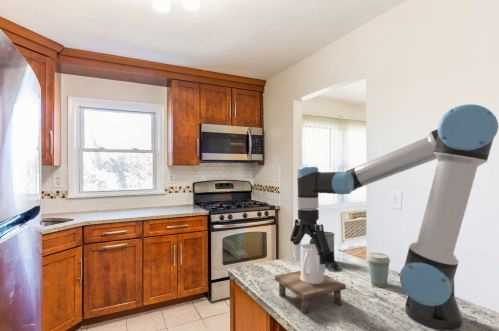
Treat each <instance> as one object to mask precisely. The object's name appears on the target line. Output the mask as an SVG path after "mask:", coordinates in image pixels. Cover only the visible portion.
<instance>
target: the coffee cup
mask: <svg viewBox="0 0 499 331" xmlns="http://www.w3.org/2000/svg"><path fill="white" fill-rule="evenodd" d="M366 259H367V261H368V270H369V276H370V283H371V285H372V286H374V287H377V288H386V287H387V286H388V279H389V278H388V277H389V268H390V263H391V259H390V256H389V255H387V254H385V253H383V252H382V253H380V252H370V253H368V256H367V258H366Z"/></svg>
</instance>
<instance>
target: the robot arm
mask: <svg viewBox="0 0 499 331" xmlns="http://www.w3.org/2000/svg"><path fill="white" fill-rule="evenodd" d="M498 122H499V121H498V119H497V117H496V115H495V114H494V113H493V112H492V111H491V110H490V109H489V108H486V107H485V106H482V105H479V104H474V103H473V104H472V103H470V104H469V103H468V104H467V103H466V104H461V105H458V106H455V107H453V108H451V109H449V110H448V111H447V112H446V113H444V114H443V115H442V117H441V119H440V120H439V122H438V124H437V128H436V129H433V131H430V133H429V134H428V136H426V137H424V138H422V139H419V140H416V141H415V142H412V143H409V144H407V145H405V146H403V147H400V148H398V149H396V150H393V151H391V152H388V153H387V154H384V155H381V156H379V157H376V158H374V159H372V160H370V161H367V162H365V163H363V164H359V165H358V166H356V167H353V168H351V169H348V170H346V171H329V172H328V171H326V172H325V171H324V172H323V171H319V168H318V167H317V166H300V167H298V168H297V177H296V178H297V179H296V180H297V208H298V209H297V219H296V218H295V219H294V224H293V225H294V226H293V229H292V233H291V235H290V242H291V243H292V244H293V252H294V255H293V256H294V260H293V261H294V263H297V262H298V263H299V262H301V245H302V242H301V241H302V240H303V238H304V237H305V235H307V236H309V238H310V239H311V238H312V240H313V242H314V244H315V246H316V248H317V251H318V254H317V273H318V274H321V273H323V274H325V273H326V264H325V263H326V254H329V253H330V249H329V246H328V243H327V240H326V236H325V233H324V232H325V231H324V228H325V227H324V225H323V224H322V223H321V224H318V220H319V218H320V217H319V216H320V215H319V212H320V211H319V194H333V195H349V194H351V193H352V192H353V191H356V190H357V189H360V188H362V187H364V186H368V185H370V184H372V183H375V182H378V181H381V180H383V179H387V178H389V177H392V176H394V175H397V174H399V173H402V172H405V171H407V170H411V169H413V168H416V167H418V166H421V165H423V164H427V163H428V162H432V161H434V160H437V163H436V168H435V171H434V172H435V173H434V176H433V179H432V182H431V187H430V190H429V194H428V197H427V198H428V199H427V201H426V206H425V210H424V213H423V216H422V217H423V218H422V221H421V225H420V230H419V233H418V237H417V241H416V242H412V243H411V244H409V246H408V252H407V254H406V258H405V262H404V265H403V267H402V269H401V270H400V273H399V283H400V286H401V287H402V289H403V291H404V292H405V294H406V295H407V298H406V301H405V306H404V308H405V309H404V310H405V314H406V315H407V317H409V318H410V319H411V320H413V321H415V322H417V323H419V324H421V325H423V326H426V327H430V328H433V329H436V330H437V329H438V330H446V331H453V330H454V331H455V330H458V329H461V328H462V327H463V317H462V316H463V315H462V313H461V310H460V308H459V305H458V303H457V300H456V297H455V296H456V295H455V276H456V272H457V269H458V265H459V260H458V258H457V257H456V255H455V249H456V246H457V242H458V238H459V235H460V231H461V228H462V224H463V220H464V216H465V213H466V210H467V206H468V202H469V199H470V194H471V191H472V188H473V185H474V181H475V178H476V174H477V172H478V168H479V166H481V165H483V164H486V163H488V159H489V157H490V156H489V155H490V153H491V150H492V149H491V148H492V146H493V142H494V139H495V137H496V135H497V134H498V130H499V123H498ZM321 250H322V251H321Z"/></svg>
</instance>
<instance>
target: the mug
mask: <svg viewBox="0 0 499 331" xmlns="http://www.w3.org/2000/svg"><path fill="white" fill-rule="evenodd" d="M321 251H322V250H321ZM317 254H318V251H317V248H316V246H315V244H309V243H304V244H301V261H300V271H301V277H300V279H301V280H302V281H303V282H305V283H309V284H320V283H322V282H324V277H323V274H324V273H321V274H318V273H317Z"/></svg>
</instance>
